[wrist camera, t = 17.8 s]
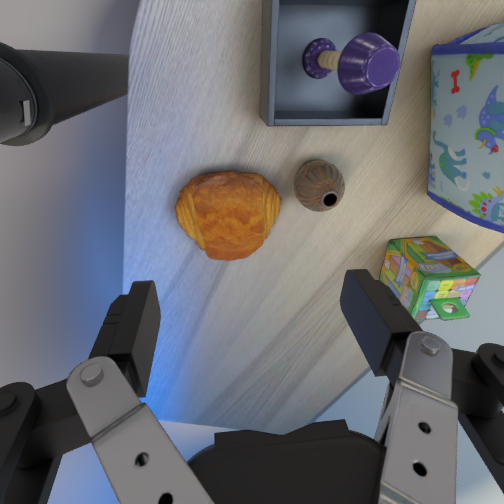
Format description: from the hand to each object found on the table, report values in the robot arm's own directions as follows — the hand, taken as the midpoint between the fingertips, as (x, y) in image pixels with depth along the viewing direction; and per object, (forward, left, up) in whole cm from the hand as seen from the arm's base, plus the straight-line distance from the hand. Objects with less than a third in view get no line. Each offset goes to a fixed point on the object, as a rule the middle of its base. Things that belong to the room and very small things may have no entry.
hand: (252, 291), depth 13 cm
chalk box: (+33, -23, -34) cm, 53 cm away
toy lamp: (+12, +8, -33) cm, 36 cm away
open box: (+12, +8, -34) cm, 37 cm away
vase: (+13, -7, -34) cm, 37 cm away
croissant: (0, -12, -34) cm, 36 cm away
